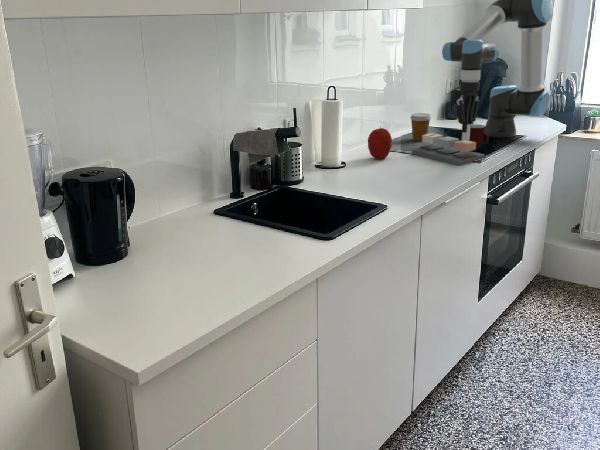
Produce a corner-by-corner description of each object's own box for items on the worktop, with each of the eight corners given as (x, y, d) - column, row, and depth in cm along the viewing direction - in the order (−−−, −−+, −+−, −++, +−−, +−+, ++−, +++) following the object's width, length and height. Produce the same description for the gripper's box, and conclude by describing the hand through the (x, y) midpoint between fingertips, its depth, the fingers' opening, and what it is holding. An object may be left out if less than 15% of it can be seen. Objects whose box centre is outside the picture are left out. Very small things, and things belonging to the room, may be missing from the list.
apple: (375, 154, 257) (376, 122, 253) (396, 157, 252) (397, 125, 247) (362, 159, 250) (363, 126, 245) (383, 162, 244) (384, 129, 239)
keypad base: (437, 148, 265) (437, 142, 264) (484, 159, 245) (485, 153, 244) (411, 153, 257) (412, 148, 256) (458, 165, 237) (458, 159, 236)
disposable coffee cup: (420, 143, 275) (422, 117, 271) (405, 140, 282) (406, 114, 278) (434, 140, 281) (435, 114, 277) (418, 136, 288) (419, 112, 284)
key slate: (447, 143, 253) (448, 135, 252) (458, 145, 249) (459, 138, 247) (437, 145, 250) (438, 137, 249) (448, 147, 245) (449, 140, 244)
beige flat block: (464, 147, 246) (464, 139, 245) (475, 149, 242) (476, 141, 240) (454, 149, 243) (454, 141, 242) (465, 151, 238) (466, 144, 237)
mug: (492, 148, 262) (494, 126, 258) (484, 152, 256) (486, 129, 253) (469, 145, 268) (471, 123, 265) (461, 149, 263) (463, 126, 259)
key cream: (431, 139, 260) (432, 132, 259) (442, 142, 256) (442, 134, 254) (422, 141, 257) (422, 134, 256) (432, 144, 252) (432, 136, 251)
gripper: (473, 78, 239) (468, 136, 247) (451, 81, 232) (447, 140, 240) (488, 80, 233) (483, 139, 241) (466, 83, 226) (461, 143, 235)
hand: (465, 139), depth 241 cm, fingers closed
